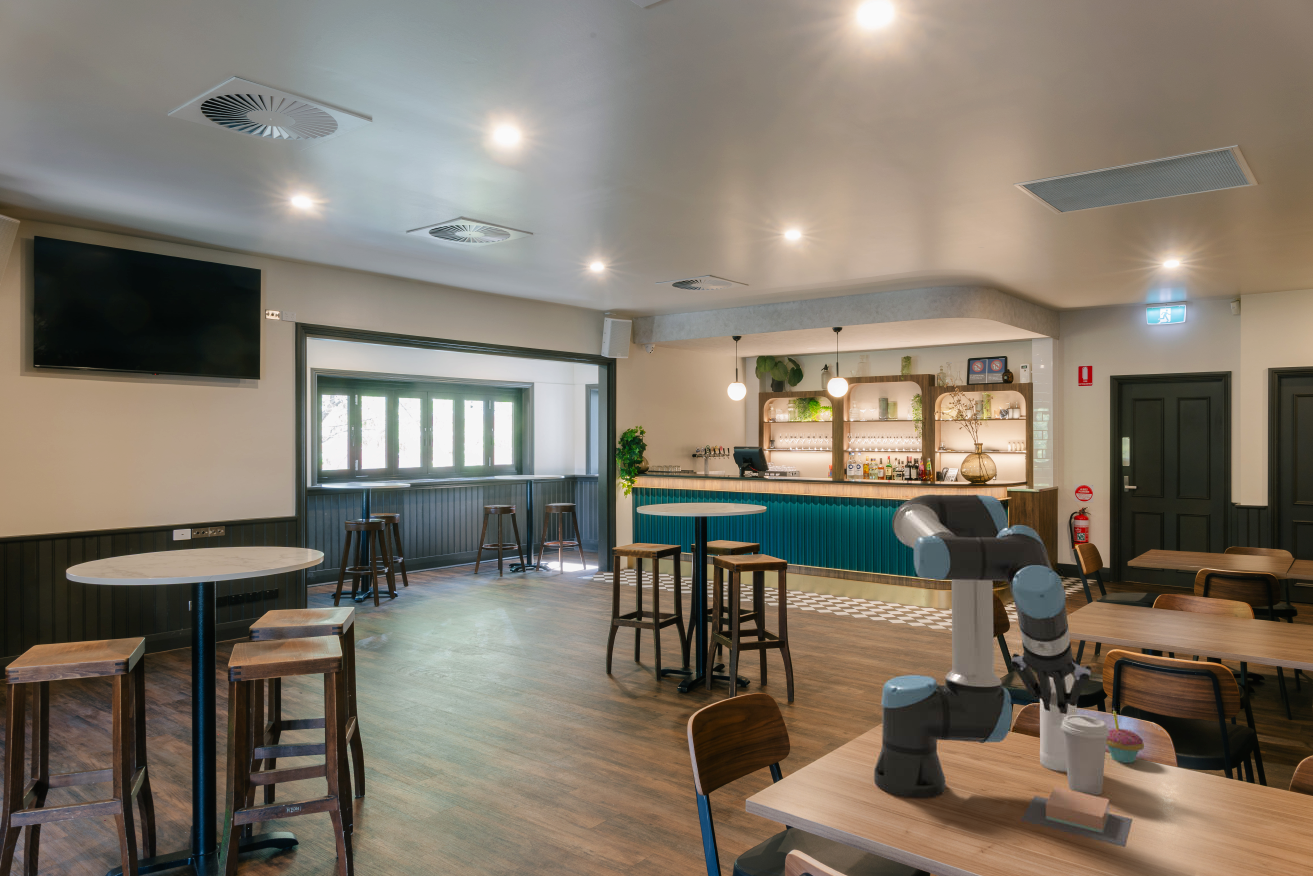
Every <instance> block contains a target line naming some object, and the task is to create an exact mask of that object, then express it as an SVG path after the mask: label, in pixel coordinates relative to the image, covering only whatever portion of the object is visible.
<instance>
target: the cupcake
mask: <svg viewBox="0 0 1313 876" xmlns="http://www.w3.org/2000/svg"><path fill="white" fill-rule="evenodd" d="M1112 714H1113V720H1114V724H1115V728H1112V729H1109V730H1108V731H1109V736H1107V740H1106V747H1108V750H1109V753H1110V757H1111V759H1112V760H1114V761H1116V762H1119V763H1122V764H1123V763H1125V764H1133V763H1134V762H1135V761H1136V758H1137V755H1138V754H1139V752H1140V751H1141V750H1142V751H1143V750H1144V747H1145V744H1144V743H1145V742H1144V739H1142V737H1141V736H1139V734H1138V733H1135V732H1134V731H1131V730H1128V729H1125V728H1120V726H1119V721H1118V715H1117V711H1115V708H1114V707H1112Z"/></svg>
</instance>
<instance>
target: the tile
mask: <svg viewBox="0 0 1313 876" xmlns="http://www.w3.org/2000/svg"><path fill="white" fill-rule="evenodd" d="M1047 799H1048V801H1047V803H1046V819H1049V820H1053V821H1057V822H1061V823H1065V824H1069V825H1073V826H1077V827H1081V828H1085V829H1089V830H1092V831H1096V832H1100V833H1103V831H1104V828H1105V825H1106V822H1107V819H1108V816H1109V813H1110V799H1108V798H1105V797H1102V796H1098V795H1090V794H1086V793H1081V792H1077V791H1073V790H1071V789H1066V788H1061V787H1056V786H1054V787H1053V789H1052V791H1051V793H1050V796H1049V797H1048V798H1047Z"/></svg>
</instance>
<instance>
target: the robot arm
mask: <svg viewBox="0 0 1313 876" xmlns="http://www.w3.org/2000/svg"><path fill="white" fill-rule="evenodd" d="M891 522H892V530H893V533H894V535H895V536H896V538H897V539H898V540H899V541H900V542H901V543H902V544H903V545H905V546H907V547H909V548H912V549H913V563H914V568H915V573H916V575H917V576H918V577H919V578H921V579H931V580H932V579H933V580H935V581H942V580H951V639H952V641H951V643H952V644H951V648H952V649H951V650H952V651H951V652H952V653H951V654H952V655H951V657H952V659H951V660H952V665H951V666H952V669H951V670H950V671H949V672H947V674H945V677H944V678H945V681H944V682H945V684H938V683H937V680H936V679H935V678H933V677H931V676H927V675H921V674H919V675H918V674H908V675H907V674H906V675H901V676H897V677H893V678H891V679H889V680H887V681H886V682H885V683H884V684H883V687H882V695H881V696H882V697H881V703H880V704H881V706H882V714H881V718H882V722H881V723H882V727H881V728H882V729H881V730H882V731H881V733H882V738H881V740H882V741H881V743H882V746H881V748H880V752H879V755H878V758H877V761H876V763H875V764H876V765H875V767H874V770H873V772H874V773H873V774H874V776H873V781H874V783H875V785H876V786H877V787H878V788H880V789H881V790H883V791H885V792H888V793H889V794H892V795H895V796H899V797H905V798H911V799H930V798H936V797H938V796H939V797H940V796H941V795H943V794H944V793H945V792H946V777H945V773H944V771H943V767H942V764H941V761H940V758H939V755H938V750H937V749H938V745H937V744H938V741H939V740H940V741H953V742H955V741H956V742H972V743H973V742H974V743H980V744H985V743H1000V742H1003V740H1005V739H1006V737H1007V735H1009V732H1010V728H1011V723H1012V716H1013V714H1012V713H1013V706H1012V704H1011V703H1012V699H1011V694H1010V692H1009V691H1008V689H1006V688H1005V687H1004V686H1003V685H1002V684H1003V683H1002V682H1003V681H1002V680H1001V679H1000V678H999V676H998V675H997V674H996V673H995V665H994V664H995V662H994V661H995V659H994V658H995V657H994V656H995V655H994V654H995V652H994V649H995V648H994V588H993V587H994V586H993V585H994V584H993V583H994V582H993V581H995V582H997V581H998V582H999V581H1000V582H1006V583H1007V584H1008V587H1009V590H1010V593H1011V596H1012V598H1013V602H1014V607H1015V609H1016V610H1015V611H1016V614H1017V615H1016V616H1017V619H1018V626H1019V627H1018V628H1019V632H1020V636H1021V641H1022V643H1021V644H1022V649H1023V652H1022V653H1023V655H1020V654H1018V653H1013V654H1012V655H1011V656H1012V657H1011V662H1010V667H1011V668H1012V670H1013V671H1015V672H1016V673H1017V674H1018V676H1019V677H1020V679H1021V681H1022V683H1023V685H1024V686H1025V688H1026V690H1027V692H1028V693H1029V695H1030V697H1031V698H1033V699H1035V700H1036V699H1040V698H1041V699H1042V701H1043V704H1044V709H1045V710H1047V711H1050V712H1051V718H1052V724H1053V725H1057V726H1062V720H1063V714H1067V710H1068V704H1070V705H1072V706H1076V704H1077V703H1078V701H1079V698H1080V696H1081V692H1082V690H1083V687H1084V685H1085V684H1087V683H1088V682H1090V679H1091V673H1092V667H1091V666H1090V665H1085V664H1084V665H1083V666H1081V665H1079V664H1077V660H1076V659H1075V658H1074V657H1073V652H1072V651H1073V650H1072V644H1071V637H1070V636H1071V635H1070V628H1069V623H1068V615H1067V614H1068V613H1067V607H1066V605H1067V604H1066V597H1067V596H1066V590H1065V589H1064V585H1063V582H1062V579H1061V577H1060V576H1059V574H1058V573H1057V572H1055V571H1054V569H1053V567H1052V564H1051V562H1050V558H1049V555H1048V551H1047V549H1046V546H1045V545H1044V543H1043V541H1042V539H1041V537H1040V535H1039V534H1038V532H1037V531H1036V530H1034V529H1033V528H1032V527H1029V526H1027V525H1022V524H1018V525H1017V524H1014V525H1012V526H1011V527H1009V523H1008V516H1007V514H1006V510H1005V509H1004V506H1003V504H1002V503H1001V501H1000V499H998V498H996V497H995V496H993V495H981V494H922V495H919V496H915V497H913V498H911V499H908V500H907V501H905V502H904V503H902V504H901V505H900V506H899V507H897V509H896V511H895V512H894V514H893V517H892V521H891ZM1033 672H1034V673H1036V674H1037V675H1034V673H1033ZM1070 673H1071V674H1072V673H1074V675H1073V676H1074V682H1073V685H1072V688H1071V691H1070V693H1067V690H1066V683H1065V677H1066V676H1067V675H1069V674H1070ZM1036 677H1037V678H1036ZM1049 677H1051V678H1053V681H1054V684H1055V688H1056V693H1055V692H1051V689H1052V687H1051V686H1050V679H1049ZM1077 705H1078V704H1077Z"/></svg>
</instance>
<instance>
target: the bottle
mask: <svg viewBox="0 0 1313 876" xmlns="http://www.w3.org/2000/svg"><path fill="white" fill-rule="evenodd" d="M1049 679H1050V686H1051V687H1052V689H1051V692H1055V693H1056V688H1055V684H1054V681H1053V678H1051V677H1049ZM1074 680H1075V676H1074V675H1073V674H1072V673H1070V674H1069V675H1067V676H1066V677H1065V683H1066V690H1067V693H1070V691H1071V688H1072V685H1073V682H1074ZM1077 705H1078V704H1076V706H1072V705H1070V704H1068V710H1067V714H1063V720H1062V721H1064V718H1065V717H1066V716H1068V715H1078V713H1077V710H1078V709H1077V707H1078V706H1077ZM1039 734H1040V735H1039V739H1040V740H1039V743H1040V748H1039V759H1040V760H1039V762H1040V765H1042V766H1043V767H1044V768H1046V769H1049V770H1051V771H1054V772H1060V773H1067V766H1066V756H1065V746H1064V736H1063V730H1062V729H1061V728H1060V726H1057V725H1053V724H1052V718H1051V712H1050V711H1047V710H1045V709H1044V704H1043V701H1042V699H1041V698H1039Z"/></svg>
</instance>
